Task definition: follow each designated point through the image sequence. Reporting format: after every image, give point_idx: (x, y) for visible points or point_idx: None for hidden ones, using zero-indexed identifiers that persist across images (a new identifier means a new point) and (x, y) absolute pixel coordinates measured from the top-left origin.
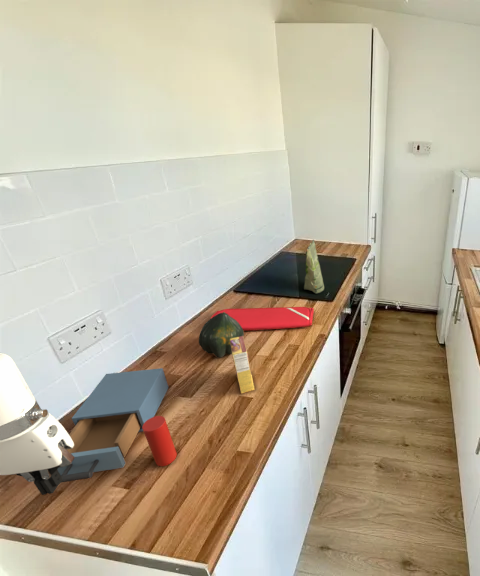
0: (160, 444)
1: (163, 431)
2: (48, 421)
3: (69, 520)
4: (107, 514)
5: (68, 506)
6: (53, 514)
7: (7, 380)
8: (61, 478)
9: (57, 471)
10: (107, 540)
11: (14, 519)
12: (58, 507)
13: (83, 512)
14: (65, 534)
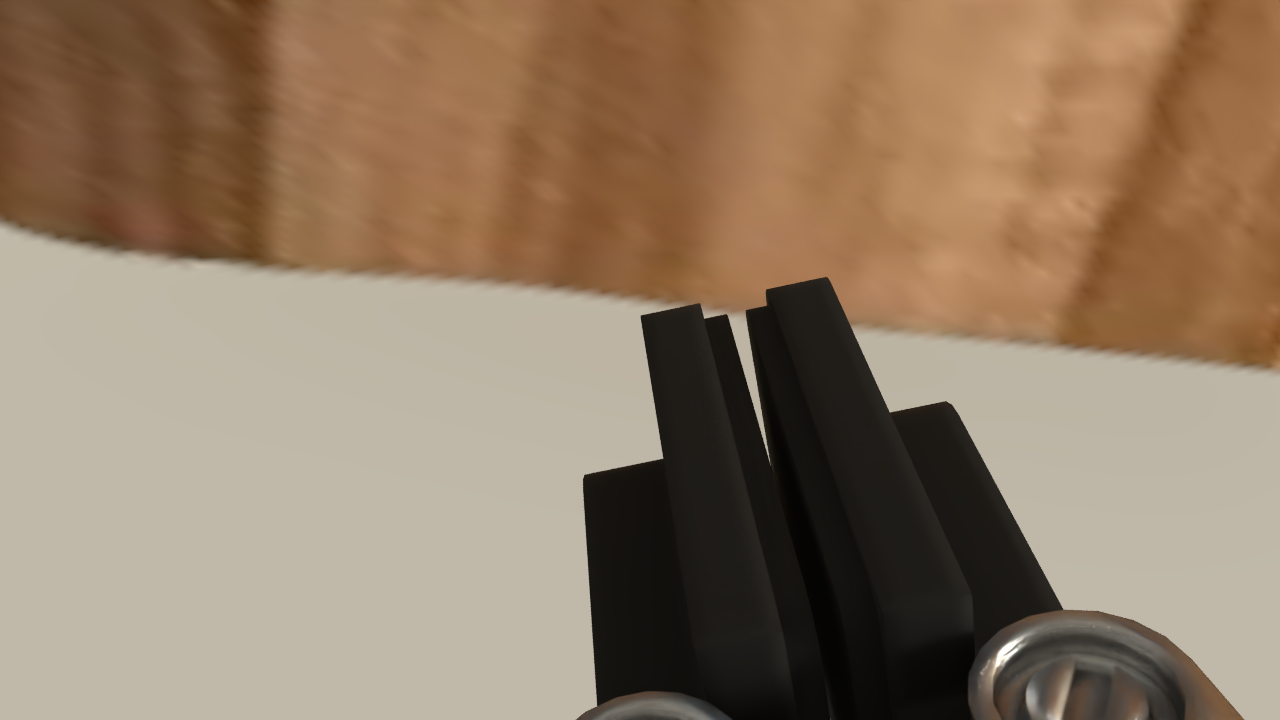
0: None
1: None
2: None
3: (720, 174)
4: (1140, 97)
5: (564, 3)
6: (455, 110)
7: None
8: (954, 421)
9: (1059, 609)
10: (1257, 346)
11: (6, 179)
12: (436, 19)
13: (826, 79)
14: None
